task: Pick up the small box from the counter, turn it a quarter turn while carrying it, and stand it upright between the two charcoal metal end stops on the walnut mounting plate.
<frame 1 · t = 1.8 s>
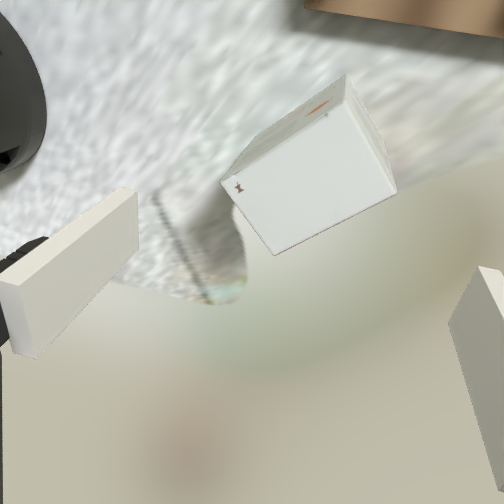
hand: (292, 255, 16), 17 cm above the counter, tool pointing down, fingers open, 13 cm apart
small box: (318, 136, 30), on the counter
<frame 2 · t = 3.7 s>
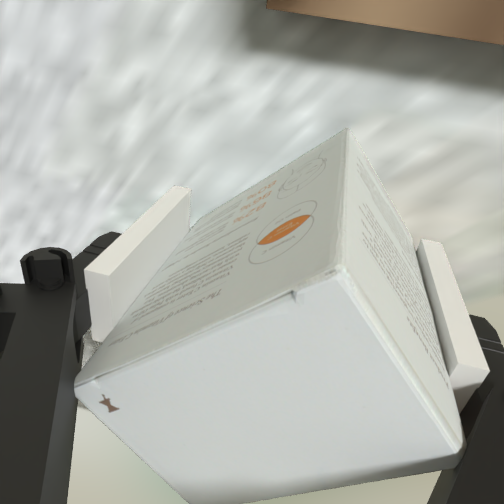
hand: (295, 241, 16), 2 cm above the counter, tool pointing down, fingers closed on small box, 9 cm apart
small box: (301, 222, 18), on the counter, touching gripper
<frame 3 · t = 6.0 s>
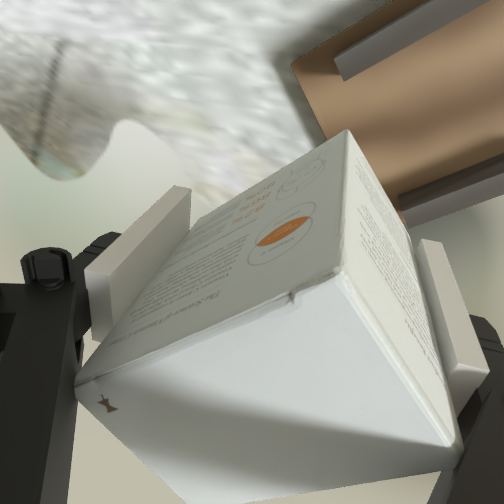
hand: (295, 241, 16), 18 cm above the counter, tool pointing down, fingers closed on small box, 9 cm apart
small box: (300, 223, 18), point 16 cm above the counter, touching gripper
mounting plate: (439, 101, 29), on the counter
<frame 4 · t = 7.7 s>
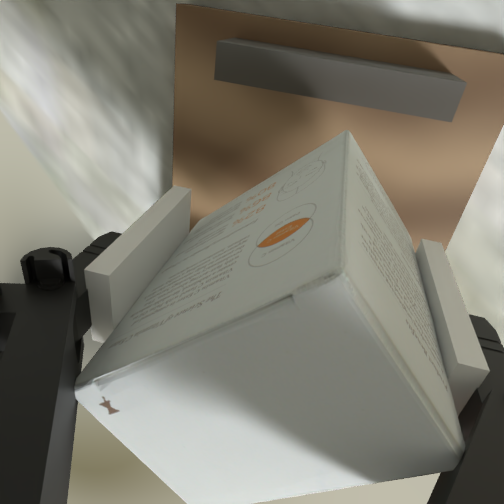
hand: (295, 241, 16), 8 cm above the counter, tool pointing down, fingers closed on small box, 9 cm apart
small box: (301, 224, 18), point 6 cm above the counter, touching gripper
mounting plate: (313, 175, 23), on the counter
when the fingers open (4 cm above the counter, at t = 8.8 s): small box drops 1 cm, resting on mounting plate.
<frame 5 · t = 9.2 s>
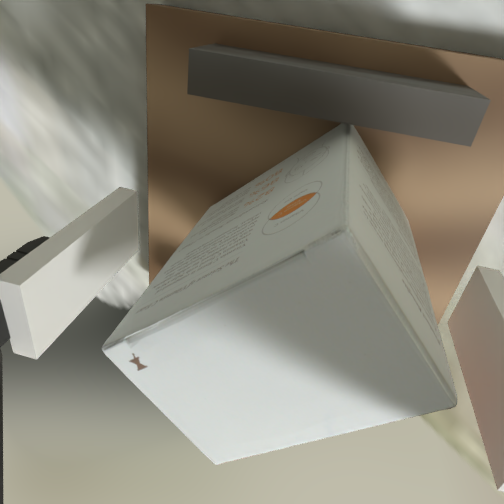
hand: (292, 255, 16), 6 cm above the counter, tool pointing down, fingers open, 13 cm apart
small box: (305, 210, 19), point 1 cm above the counter, touching mounting plate
mounting plate: (307, 199, 20), on the counter
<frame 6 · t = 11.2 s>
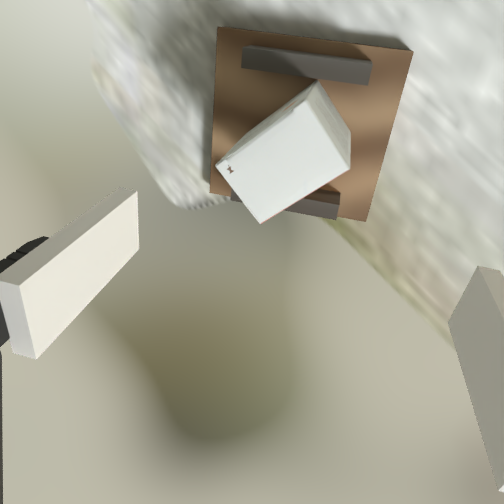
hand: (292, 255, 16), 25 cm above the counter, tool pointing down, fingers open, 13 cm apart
small box: (298, 131, 36), point 1 cm above the counter, touching mounting plate
mounting plate: (299, 128, 37), on the counter
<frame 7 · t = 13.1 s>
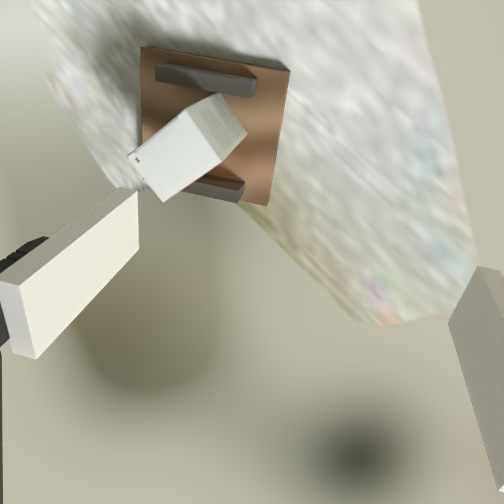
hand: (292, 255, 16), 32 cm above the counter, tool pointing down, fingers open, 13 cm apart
small box: (208, 131, 45), point 1 cm above the counter, touching mounting plate
mounting plate: (211, 128, 46), on the counter
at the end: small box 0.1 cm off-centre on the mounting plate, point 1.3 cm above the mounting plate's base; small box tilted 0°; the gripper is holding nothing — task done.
